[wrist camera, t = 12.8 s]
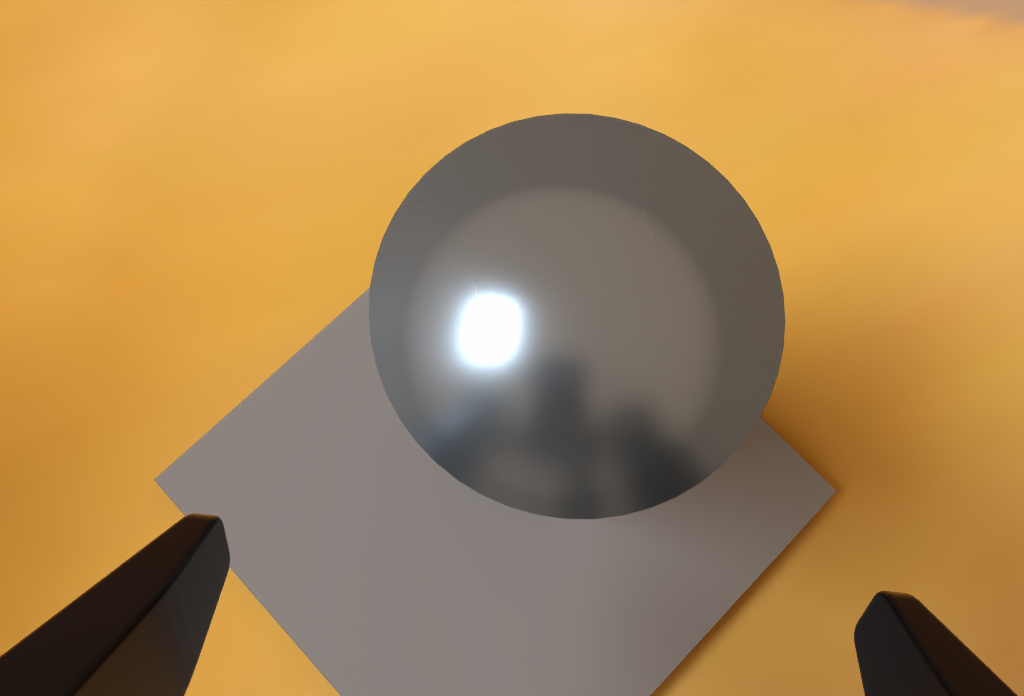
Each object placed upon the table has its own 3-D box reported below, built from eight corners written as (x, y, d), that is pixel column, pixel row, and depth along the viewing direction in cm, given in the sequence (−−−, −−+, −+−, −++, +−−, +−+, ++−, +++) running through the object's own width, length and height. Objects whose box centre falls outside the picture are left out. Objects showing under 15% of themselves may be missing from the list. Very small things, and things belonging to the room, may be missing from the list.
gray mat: (826, 490, 20) (836, 491, 20) (491, 857, 18) (491, 870, 18) (504, 175, 22) (505, 167, 21) (164, 479, 20) (153, 479, 19)
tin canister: (623, 381, 20) (846, 219, 7) (558, 516, 19) (682, 598, 7) (492, 316, 20) (488, 51, 8) (423, 446, 20) (291, 396, 7)
